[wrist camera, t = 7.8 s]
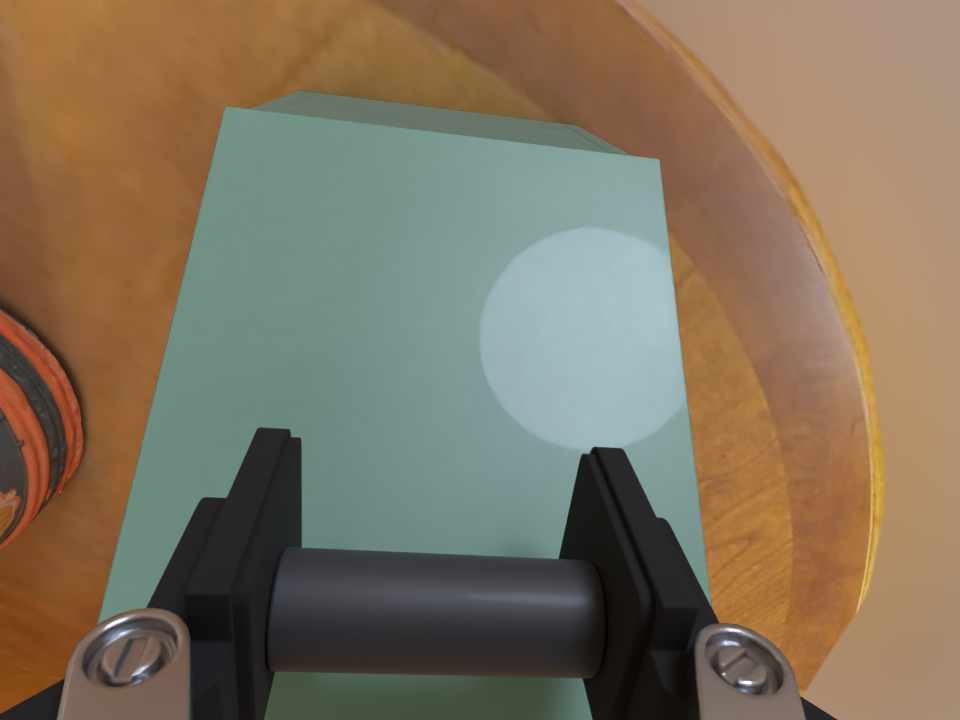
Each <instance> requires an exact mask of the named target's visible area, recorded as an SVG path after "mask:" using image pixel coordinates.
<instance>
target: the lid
mask: <svg viewBox="0 0 960 720" xmlns="http://www.w3.org/2000/svg"><path fill="white" fill-rule="evenodd" d="M259 427H264V428H281V429H290V432H291V437H300V438H301V442H302V548H301V547H288V548H285V549H284V551H283V552H282V554H281V556H280V559H279V562H278V565H277V568H276V572H275V576H274V581H273V586H272V591H271V597H270V603H269V610H268V619H267V629H266V662H267V666H268V669H269V670H270V671H273V672H275V675H274V679H273V683H272V688H271V692H270V696H269V700H268V704H267V708H266V713H265V717H264V720H593V719H592V715H591V711H590V707H589V703H588V699H587V695H586V691H585V687H584V683H583V678H586V679H589V678H593V677H595V676H596V675H597V674H598V672H599V671H600V668H601V666H602V662H603V658H604V653H605V647H606V637H607V614H606V603H605V596H604V590H603V586H602V582H601V578H600V575H599V573H598V570H597V568H596V567H595V565H594V564H593V563H592V562H590V561H588V560H573V559H559V554H560V549H561V545H562V540H563V535H564V531H565V526H566V521H567V517H568V512H569V508H570V503H571V498H572V494H573V489H574V484H575V480H576V475H577V470H578V466H579V461H580V458H581V455H582V454H583V453H585V454H590V451H591V449H592V448H593V447H610V448H622V449H623V450H624V451H625V453H626V455H627V457H628V459H629V461H630V463H631V465H632V467H633V469H634V471H635V473H636V475H637V477H638V480H639V482H640V484H641V486H642V488H643V490H644V492H645V494H646V496H647V498H648V500H649V502H650V504H651V507H652V509H653V511H654V513H655V515H656V517H658V518H664V519H666V520H667V521H668V523H669V524H670V526H671V528H672V530H673V532H674V534H675V536H676V538H677V540H678V542H679V544H680V546H681V548H682V550H683V552H684V554H685V556H686V558H687V560H688V562H689V564H690V566H691V568H692V570H693V572H694V574H695V576H696V578H697V580H698V582H699V583H700V585H701V587H702V589H703V591H704V593H705V595H706V597H707V599H708V601H709V603H710V605H711V597H710V588H709V579H708V571H707V562H706V554H705V545H704V537H703V528H702V519H701V511H700V502H699V494H698V485H697V477H696V468H695V460H694V451H693V442H692V434H691V425H690V417H689V408H688V400H687V391H686V382H685V374H684V365H683V357H682V348H681V340H680V331H679V322H678V314H677V305H676V297H675V288H674V280H673V271H672V262H671V254H670V245H669V237H668V228H667V220H666V211H665V202H664V194H663V185H662V177H661V168H660V160H659V159H654V158H646V157H637V156H629V155H621V154H613V153H605V152H596V151H588V150H580V149H572V148H564V147H555V146H547V145H539V144H531V143H523V142H514V141H506V140H498V139H490V138H482V137H473V136H465V135H457V134H449V133H441V132H432V131H424V130H416V129H408V128H400V127H391V126H383V125H375V124H367V123H359V122H350V121H342V120H334V119H326V118H317V117H309V116H301V115H293V114H285V113H276V112H268V111H260V110H252V109H244V108H235V107H227V106H226V107H225V109H224V113H223V117H222V121H221V125H220V129H219V133H218V137H217V141H216V145H215V149H214V153H213V157H212V161H211V165H210V169H209V173H208V178H207V182H206V186H205V190H204V194H203V198H202V202H201V206H200V210H199V214H198V218H197V222H196V226H195V230H194V234H193V238H192V242H191V246H190V250H189V254H188V259H187V263H186V267H185V271H184V275H183V279H182V283H181V287H180V291H179V295H178V299H177V303H176V307H175V311H174V315H173V319H172V323H171V327H170V331H169V335H168V340H167V344H166V348H165V352H164V356H163V360H162V364H161V368H160V372H159V376H158V380H157V384H156V388H155V392H154V396H153V400H152V404H151V408H150V412H149V417H148V421H147V425H146V429H145V433H144V437H143V441H142V445H141V449H140V453H139V457H138V461H137V465H136V469H135V473H134V477H133V481H132V485H131V489H130V493H129V498H128V502H127V506H126V510H125V514H124V518H123V522H122V526H121V530H120V534H119V538H118V542H117V546H116V550H115V554H114V558H113V562H112V566H111V570H110V574H109V579H108V583H107V587H106V591H105V595H104V599H103V603H102V607H101V611H100V615H99V619H98V623H97V625H98V624H99V623H100V622H102V621H104V620H106V619H108V618H110V617H112V616H114V615H116V614H119V613H123V612H126V611H130V610H134V609H142V608H146V607H147V605H148V603H149V601H150V599H151V597H152V595H153V593H154V591H155V589H156V587H157V585H158V583H159V581H160V579H161V577H162V575H163V573H164V571H165V569H166V567H167V565H168V563H169V561H170V559H171V557H172V555H173V553H174V551H175V549H176V547H177V545H178V543H179V541H180V539H181V537H182V535H183V533H184V531H185V529H186V527H187V525H188V523H189V521H190V519H191V517H192V515H193V513H194V511H195V509H196V507H197V505H198V503H199V502H200V500H201V499H202V498H204V497H217V498H227V496H228V494H229V491H230V489H231V487H232V485H233V482H234V480H235V478H236V475H237V473H238V471H239V469H240V466H241V464H242V462H243V459H244V457H245V455H246V453H247V450H248V448H249V446H250V444H251V441H252V439H253V437H254V434H255V432H256V430H257V428H259ZM711 607H712V605H711Z"/></svg>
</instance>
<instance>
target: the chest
mask: <svg viewBox="0 0 960 720" xmlns="http://www.w3.org/2000/svg"><path fill="white" fill-rule="evenodd" d="M250 109H252V110H260V111H268V112H276V113H285V114H293V115H301V116H309V117H317V118H326V119H334V120H342V121H350V122H359V123H367V124H375V125H383V126H391V127H400V128H408V129H416V130H424V131H432V132H441V133H449V134H457V135H465V136H473V137H482V138H490V139H498V140H506V141H514V142H523V143H531V144H539V145H547V146H555V147H564V148H572V149H580V150H588V151H596V152H605V153H613V154H621V155H629V156H631V155H630V154H628V153H626V152H624V151H622V150H620V149H619V148H617V147H615V146H613V145H611V144H610V143H608V142H606V141H604V140H602V139H600V138H599V137H597V136H595V135H593V134H591V133H590V132H588V131H586V130H584V129H582V128H581V127H579V126H577V125H570V124H562V123H554V122H546V121H538V120H530V119H522V118H515V117H507V116H499V115H491V114H483V113H475V112H467V111H459V110H451V109H443V108H435V107H428V106H420V105H412V104H404V103H396V102H388V101H380V100H372V99H364V98H356V97H348V96H341V95H333V94H325V93H317V92H309V91H301V90H298V91H296V92H293V93H290V94H288V95H285V96H282V97H280V98H277V99H274V100H272V101H269V102H266V103H264V104H261V105H258V106H256V107H253V108H250Z"/></svg>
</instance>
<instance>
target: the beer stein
mask: <svg viewBox="0 0 960 720" xmlns="http://www.w3.org/2000/svg"><path fill="white" fill-rule="evenodd" d="M83 443H84V439H83V431H82V427H81V413H80V408H79V403H78V400H77V398H76V396H75V394H74V392H73V388H72V386H71V384H70V381H69V380H68V378H67V376H66V374H65V371H64V370H63V368H62V367H61V365H60V364H59V362H58V361H57V359H56V358H55V356H54V355H53V354H52V353H51V351H50V350H49V349H48V348H47V347H46V346H45V345H44V344H43V343H42V342H41V341H40V340H39V338H38V337H37V336H36V335H35V334H34V333H33V332H32V331H31V330H29V329H28V328H27V327H26V326H25V325H23V324H22V323H21V322H20V321H19V320H17V319H16V318H15V317H13V316H12V315H10V314H9V313H7V312H6V311H5V310H3V309H2V308H0V549H1V548H2V547H4V546H5V545H7V544H8V543H10V542H11V541H12V540H13V539H14V538H15V537H16V536H17V535H18V534H19V533H20V532H21V531H23V530H24V529H25V528H26V527H27V526H28V524H29V523H31V521H32V520H34V519H35V518H36V516H37V514H39V513H40V511H41V510H42V509H43V508H44V507H45V506H46V505H47V503H48V502H49V501H50V500H51V499H52V498H53V497H54V496H55V495H56V494H57V492H58V493H61V492H62V490H63V488H64V485H65V483H66V482H67V481H68V480H69V479H70V478H71V477H72V475H73V473H74V472H75V470H76V469H77V467H78V465H79V463H80V459H81V455H82V453H83V452H84V451H83Z"/></svg>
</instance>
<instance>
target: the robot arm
mask: <svg viewBox="0 0 960 720" xmlns="http://www.w3.org/2000/svg"><path fill="white" fill-rule="evenodd" d="M288 547H301V548H302V442H301V438H300V437H291V432H290V429H281V428H264V427H259V428H257V430H256V432H255V434H254V437H253V439H252V441H251V444H250V446H249V448H248V450H247V453H246V455H245V457H244V459H243V462H242V464H241V466H240V469H239V471H238V473H237V475H236V478H235V480H234V482H233V485H232V487H231V489H230V491H229V494H228V496H227V498H217V497H204V498H202V499H201V500H200V502H199V503H198V505H197V507H196V509H195V511H194V513H193V515H192V517H191V519H190V521H189V523H188V525H187V527H186V529H185V531H184V533H183V535H182V537H181V539H180V541H179V543H178V545H177V547H176V549H175V551H174V553H173V555H172V557H171V559H170V561H169V563H168V565H167V567H166V569H165V571H164V573H163V575H162V577H161V579H160V581H159V583H158V585H157V587H156V589H155V591H154V593H153V595H152V597H151V599H150V601H149V603H148V605H147V607H146V608H142V609H134V610H130V611H126V612H123V613H119V614H116V615H114V616H112V617H110V618H108V619H106V620H104V621H102V622H100V623H99V624H98V625H96V626H95V627H94V628H93V629H91V630H90V631H89V632H87V633H86V634H85V635H84V636H83V637H82V639H81V640H80V641H79V642H78V644H77V645H76V646H75V647H74V649H73V652H72V654H71V657H70V659H69V662H68V666H67V671H66V677H65V679H63V680H61V681H60V682H58V683H56V684H54V685H52V686H50V687H49V688H47V689H45V690H43V691H41V692H40V693H38V694H36V695H34V696H32V697H30V698H29V699H27V700H25V701H23V702H21V703H20V704H18V705H16V706H14V707H12V708H10V709H9V710H7V711H5V712H3V713H1V714H0V720H264V717H265V713H266V708H267V704H268V700H269V696H270V692H271V688H272V683H273V679H274V675H275V672H273V671H270V670H269V669H268V666H267V662H266V629H267V619H268V610H269V603H270V597H271V591H272V586H273V581H274V576H275V572H276V568H277V565H278V562H279V559H280V556H281V554H282V552H283V551H284V549H285V548H288ZM559 559H573V560H588V561H590V562H592V563H593V564H594V565H595V567H596V568H597V570H598V573H599V575H600V578H601V582H602V586H603V590H604V596H605V603H606V614H607V637H606V647H605V653H604V658H603V662H602V666H601V668H600V671H599V672H598V674H597V675H596V676H595V677H593V678H589V679H586V678H583V683H584V687H585V691H586V695H587V699H588V703H589V707H590V711H591V715H592V719H593V720H837V719H835V718H834V717H832V716H831V715H829V714H827V713H826V712H824V711H823V710H821V709H820V708H818V707H816V706H815V705H813V704H812V703H810V702H808V701H807V700H805V699H804V698H802V697H800V695H799V691H798V687H797V683H796V679H795V675H794V672H793V670H792V668H791V666H790V663H789V661H788V660H787V659H786V657H785V656H784V655H783V653H782V652H781V651H780V650H779V649H778V648H777V647H776V646H775V645H774V644H773V643H771V642H770V641H769V640H768V639H767V638H765V637H763V636H762V635H760V634H758V633H757V632H755V631H753V630H751V629H748V628H745V627H742V626H740V625H736V624H729V623H719V621H718V619H717V617H716V615H715V613H714V611H713V609H712V607H711V605H710V603H709V601H708V599H707V597H706V595H705V593H704V591H703V589H702V587H701V585H700V583H699V582H698V580H697V578H696V576H695V574H694V572H693V570H692V568H691V566H690V564H689V562H688V560H687V558H686V556H685V554H684V552H683V550H682V548H681V546H680V544H679V542H678V540H677V538H676V536H675V534H674V532H673V530H672V528H671V526H670V524H669V523H668V521H667V520H666V519H664V518H658V517H656V515H655V513H654V511H653V509H652V507H651V504H650V502H649V500H648V498H647V496H646V494H645V492H644V490H643V488H642V486H641V484H640V482H639V480H638V477H637V475H636V473H635V471H634V469H633V467H632V465H631V463H630V461H629V459H628V457H627V455H626V453H625V451H624V450H623V449H622V448H610V447H593V448H592V449H591V451H590V454H585V453H583V454H582V455H581V458H580V461H579V466H578V470H577V475H576V480H575V484H574V489H573V494H572V498H571V503H570V508H569V512H568V517H567V521H566V526H565V531H564V535H563V540H562V545H561V549H560V554H559Z"/></svg>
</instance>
